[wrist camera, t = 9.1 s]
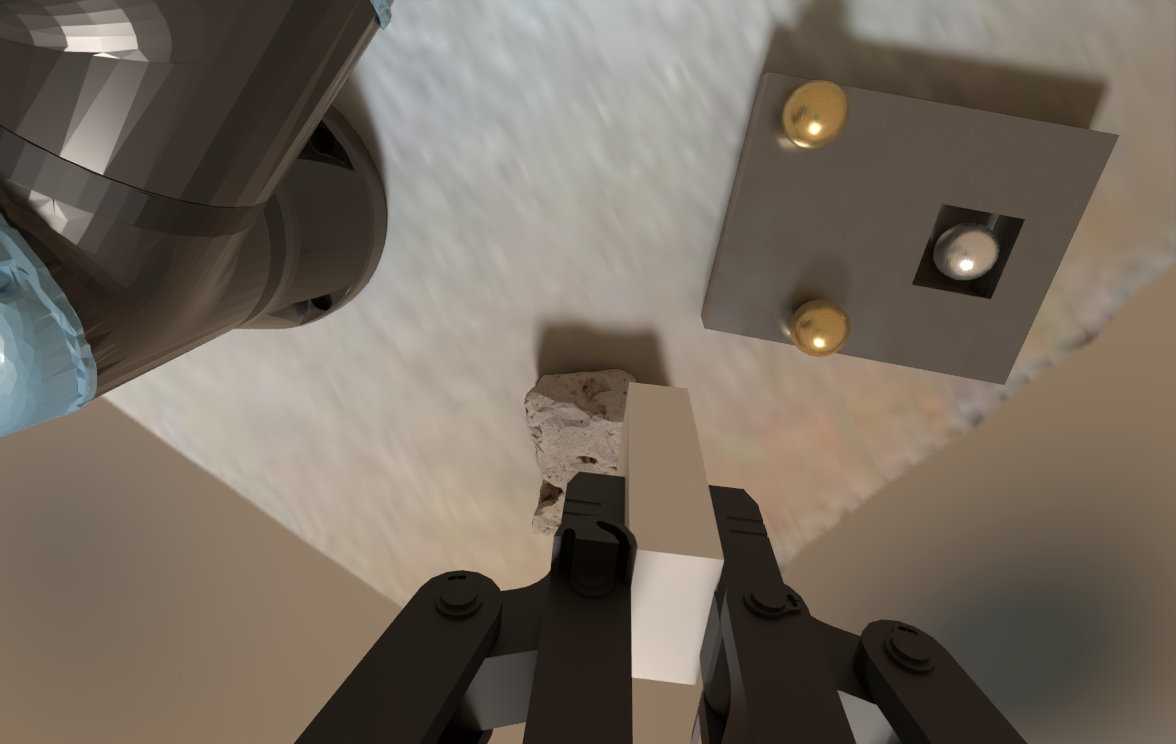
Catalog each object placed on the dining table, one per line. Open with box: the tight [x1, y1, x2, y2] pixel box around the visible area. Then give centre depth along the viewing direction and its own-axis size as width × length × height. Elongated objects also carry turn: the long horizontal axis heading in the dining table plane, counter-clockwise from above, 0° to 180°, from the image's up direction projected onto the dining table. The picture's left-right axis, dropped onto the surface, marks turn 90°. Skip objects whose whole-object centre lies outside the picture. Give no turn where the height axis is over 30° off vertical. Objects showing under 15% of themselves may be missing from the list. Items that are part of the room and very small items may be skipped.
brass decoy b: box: [790, 299, 850, 357], centre depth 35 cm, size 3×3×3 cm
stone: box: [524, 369, 637, 535], centre depth 42 cm, size 13×6×10 cm
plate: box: [701, 72, 1119, 385], centre depth 35 cm, size 18×14×2 cm
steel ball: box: [933, 223, 1000, 280], centre depth 35 cm, size 3×3×3 cm
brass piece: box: [782, 80, 850, 149], centre depth 31 cm, size 3×3×3 cm
